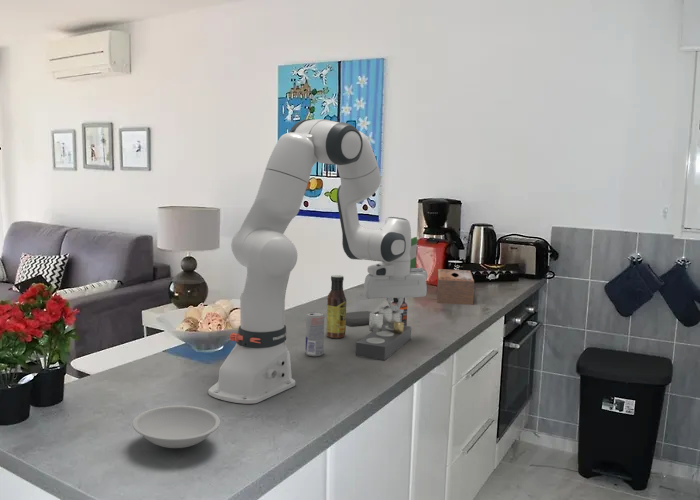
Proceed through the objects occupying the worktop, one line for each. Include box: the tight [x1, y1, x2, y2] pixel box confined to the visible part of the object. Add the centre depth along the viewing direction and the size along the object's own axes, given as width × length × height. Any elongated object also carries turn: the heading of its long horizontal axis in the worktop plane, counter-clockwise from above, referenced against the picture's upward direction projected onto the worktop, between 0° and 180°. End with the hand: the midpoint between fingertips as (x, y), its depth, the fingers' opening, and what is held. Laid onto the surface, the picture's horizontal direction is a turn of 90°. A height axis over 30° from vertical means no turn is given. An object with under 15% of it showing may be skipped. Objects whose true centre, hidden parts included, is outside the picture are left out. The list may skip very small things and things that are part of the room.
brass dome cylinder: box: [394, 322, 404, 334], centre depth 179 cm, size 3×3×3 cm
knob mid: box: [378, 305, 392, 326], centre depth 176 cm, size 4×4×5 cm
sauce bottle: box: [325, 274, 347, 339], centre depth 186 cm, size 7×6×20 cm
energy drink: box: [304, 311, 325, 357], centre depth 169 cm, size 5×5×12 cm
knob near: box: [368, 310, 383, 333], centre depth 169 cm, size 4×4×5 cm
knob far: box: [388, 311, 401, 329], centre depth 184 cm, size 4×4×5 cm
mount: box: [355, 325, 412, 361], centre depth 177 cm, size 24×9×4 cm, turn 156°
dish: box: [132, 404, 221, 449], centre depth 112 cm, size 18×14×5 cm
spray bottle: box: [346, 310, 372, 327], centre depth 209 cm, size 3×11×24 cm
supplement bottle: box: [391, 298, 408, 326], centre depth 197 cm, size 6×6×11 cm
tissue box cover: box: [436, 268, 475, 306], centre depth 249 cm, size 26×14×10 cm, turn 172°
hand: (394, 311), depth 184 cm, fingers closed, pressing on knob far
